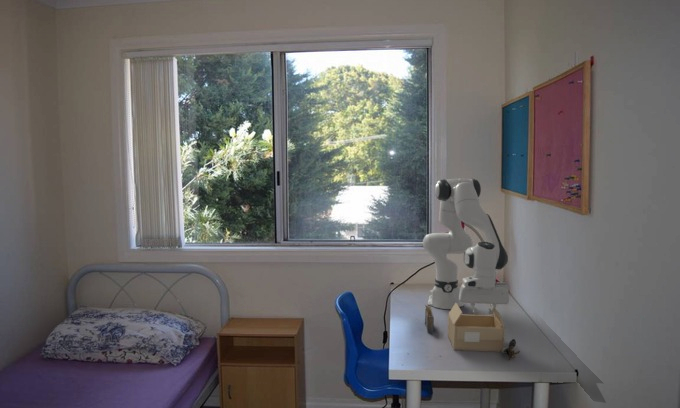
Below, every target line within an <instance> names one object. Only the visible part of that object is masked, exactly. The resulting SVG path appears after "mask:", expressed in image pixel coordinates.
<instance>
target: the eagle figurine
mask: <svg viewBox="0 0 680 408" xmlns="http://www.w3.org/2000/svg"><path fill="white" fill-rule="evenodd" d="M507 346H508V347H507ZM507 346H506V347H504V348H503V349H502V351H499V352H500V353H501V354H502V353H506V354H507V355H506V356H508V357H509V358H508V361H509V360H510V361H511V359H512V358H513V357H514V358H516V355H517V354H519V353H520V352H521V351H520V350H517V351H516V352H515V350H514V349H515V347H517V341H516V339H515V338H512V339H511V340H510V341H509V343H508V345H507Z"/></svg>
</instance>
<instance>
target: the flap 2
mask: <svg viewBox="0 0 680 408" xmlns="http://www.w3.org/2000/svg"><path fill="white" fill-rule="evenodd" d="M489 305H490V308H491V307H492V306H493V305H492V304H489ZM493 314H494V315H493V316H495V317H496V318H497V319H498V320H499V322H500V323H501V324H502V325H503V327H505V324H504V322H503V319H502V317H501V315H500V312H499V311H498V310H497V309H496V308H495V309H494V310H493Z"/></svg>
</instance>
